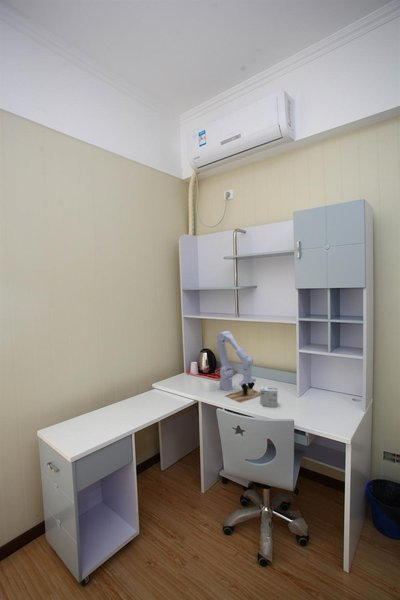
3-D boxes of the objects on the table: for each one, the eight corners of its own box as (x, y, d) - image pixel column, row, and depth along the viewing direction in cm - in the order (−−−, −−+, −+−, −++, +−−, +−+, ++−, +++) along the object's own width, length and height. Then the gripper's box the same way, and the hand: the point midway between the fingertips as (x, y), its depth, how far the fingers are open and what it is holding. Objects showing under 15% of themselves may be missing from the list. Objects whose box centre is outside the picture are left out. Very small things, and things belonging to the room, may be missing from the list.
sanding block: (242, 393, 215) (242, 387, 215) (246, 392, 217) (246, 386, 217) (249, 396, 209) (249, 390, 209) (253, 394, 212) (253, 389, 212)
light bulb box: (277, 403, 199) (277, 387, 198) (277, 407, 192) (277, 390, 192) (260, 402, 202) (260, 386, 201) (260, 406, 195) (259, 389, 194)
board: (224, 397, 211) (224, 395, 211) (248, 389, 225) (248, 388, 225) (240, 404, 198) (240, 402, 198) (265, 395, 212) (265, 394, 212)
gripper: (244, 377, 205) (244, 397, 206) (258, 373, 214) (259, 392, 214) (236, 375, 211) (237, 394, 212) (251, 371, 219) (251, 389, 220)
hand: (247, 393), depth 213 cm, fingers closed on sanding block, 4 cm apart
